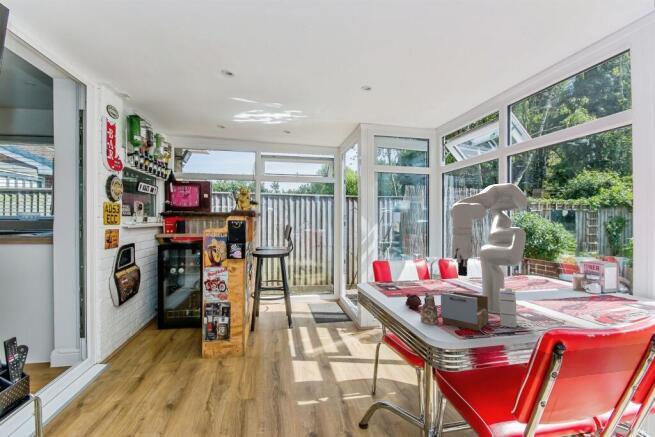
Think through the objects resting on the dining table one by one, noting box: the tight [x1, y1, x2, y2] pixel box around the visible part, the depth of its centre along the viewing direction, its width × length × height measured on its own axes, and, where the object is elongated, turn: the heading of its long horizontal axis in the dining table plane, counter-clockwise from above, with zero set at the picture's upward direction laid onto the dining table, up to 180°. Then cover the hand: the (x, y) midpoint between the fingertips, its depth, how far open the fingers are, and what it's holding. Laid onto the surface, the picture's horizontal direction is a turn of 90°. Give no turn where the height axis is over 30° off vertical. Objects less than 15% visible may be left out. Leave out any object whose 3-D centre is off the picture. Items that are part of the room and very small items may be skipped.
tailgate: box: [440, 292, 478, 324], centre depth 119 cm, size 2×14×10 cm, turn 46°
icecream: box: [405, 293, 423, 309], centre depth 147 cm, size 7×7×15 cm
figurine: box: [420, 292, 439, 325], centre depth 127 cm, size 7×7×12 cm
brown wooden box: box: [442, 291, 489, 332], centre depth 125 cm, size 14×14×11 cm
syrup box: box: [499, 288, 517, 329], centre depth 122 cm, size 6×6×14 cm
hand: (462, 275), depth 123 cm, fingers closed
